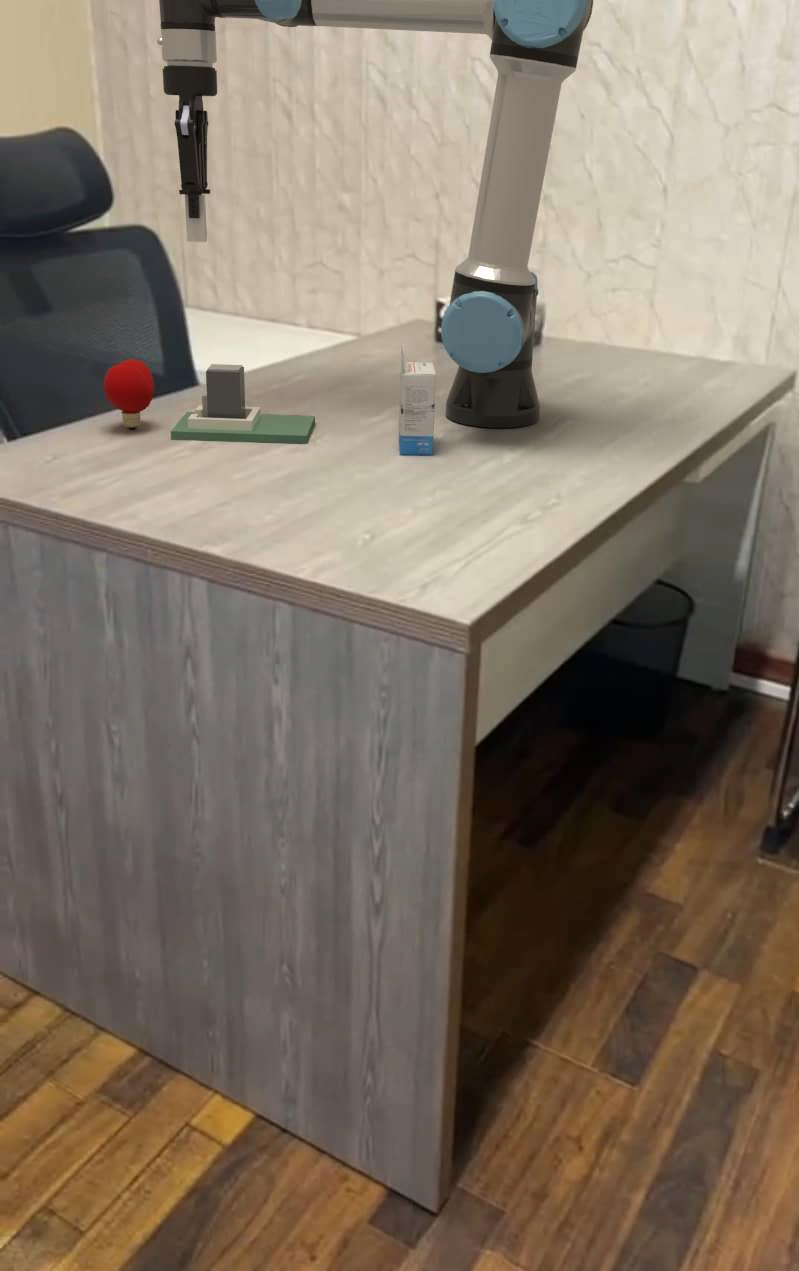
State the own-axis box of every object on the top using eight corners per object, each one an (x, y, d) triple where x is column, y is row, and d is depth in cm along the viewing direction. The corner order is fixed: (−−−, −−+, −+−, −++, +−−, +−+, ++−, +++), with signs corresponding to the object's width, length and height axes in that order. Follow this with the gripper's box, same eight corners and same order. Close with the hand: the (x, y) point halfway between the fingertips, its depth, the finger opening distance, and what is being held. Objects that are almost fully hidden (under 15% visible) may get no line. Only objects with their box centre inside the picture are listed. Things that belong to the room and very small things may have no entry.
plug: (245, 419, 177) (243, 364, 174) (241, 426, 174) (239, 370, 170) (206, 418, 178) (204, 363, 174) (201, 424, 174) (199, 369, 170)
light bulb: (141, 438, 171) (137, 370, 167) (97, 435, 172) (91, 367, 168) (165, 423, 179) (161, 358, 175) (123, 420, 180) (118, 355, 176)
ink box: (434, 456, 166) (438, 352, 160) (399, 455, 166) (402, 351, 160) (430, 440, 174) (434, 340, 168) (397, 439, 174) (400, 340, 168)
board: (314, 423, 181) (314, 406, 180) (306, 443, 170) (306, 425, 169) (187, 419, 182) (186, 402, 181) (171, 439, 171) (170, 421, 170)
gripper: (172, 65, 169) (180, 236, 179) (152, 62, 157) (162, 245, 167) (223, 67, 169) (228, 237, 179) (208, 64, 157) (214, 246, 167)
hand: (197, 241), depth 173 cm, fingers closed
